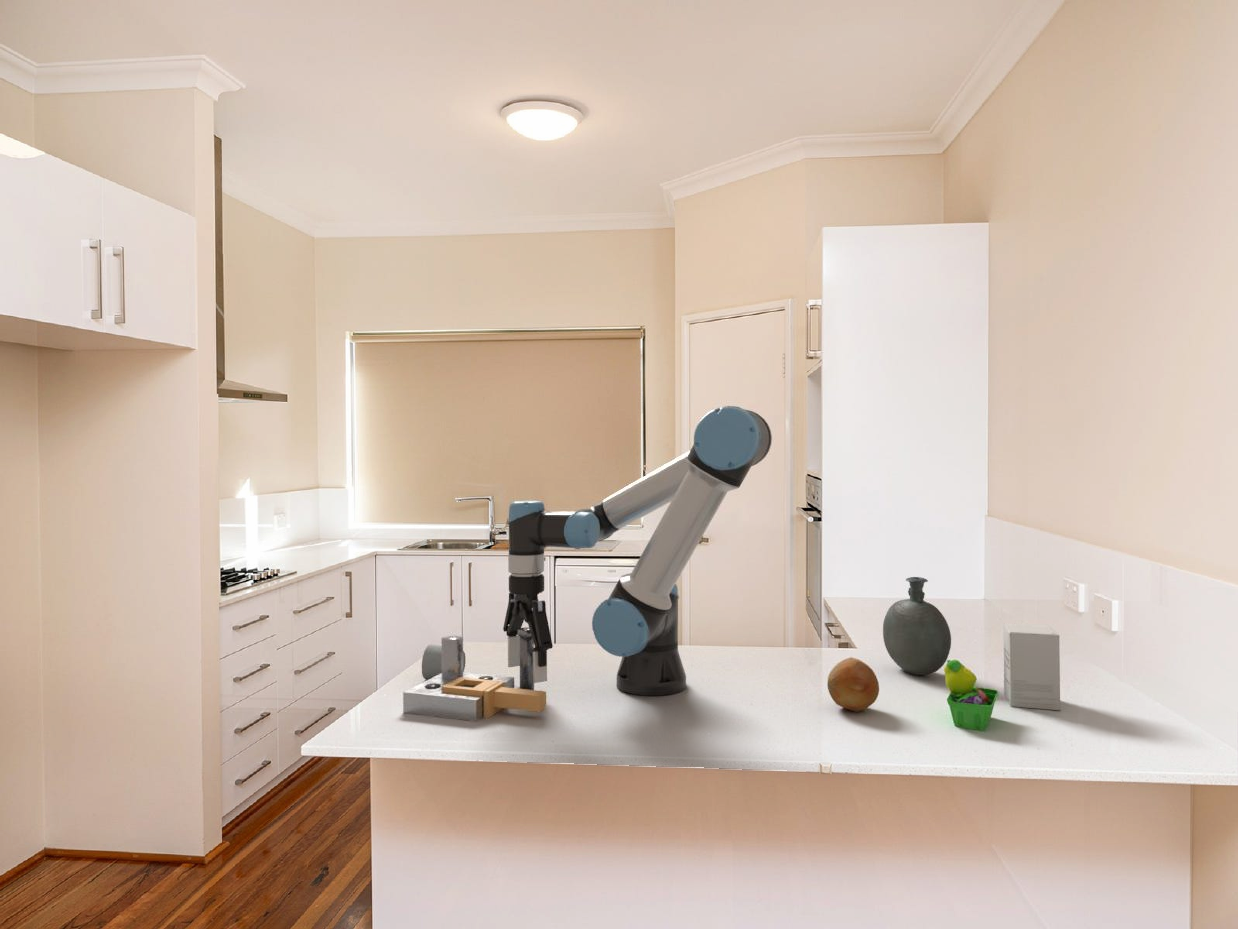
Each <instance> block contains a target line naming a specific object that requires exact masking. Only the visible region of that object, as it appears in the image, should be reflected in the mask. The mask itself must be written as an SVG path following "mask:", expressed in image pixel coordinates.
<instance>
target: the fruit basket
mask: <svg viewBox="0 0 1238 929" xmlns="http://www.w3.org/2000/svg"><path fill="white" fill-rule="evenodd" d="M943 671H944V672H943V673H944V674H945V686H946V687H947V689H948V691H949V695H948V696H947V697H946V701H947V704H948V706H949V709H950V713H951V717H952V718H951V719H952V721H953V726H954V727H958V728H959V727H960V728H964V729H970V730H979V731H980V732H981V731H983V732H985V731H986V729H987V727H988V724H989V722H990V720H991V717H992V714H993V711H994V707H995V703H996V700H997V698H998V696H999V690H997V689H992V688H987V687H978V686H975V684H976V682H977V680H978V679H977V676H976V674H975V673H974V672H972V671H971V670H970V669H969V668H968V667H966V666H965V665H963V663H961V662H960V661H959V660H958V659H947V660H946V664H945V665H944V669H943Z"/></svg>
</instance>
